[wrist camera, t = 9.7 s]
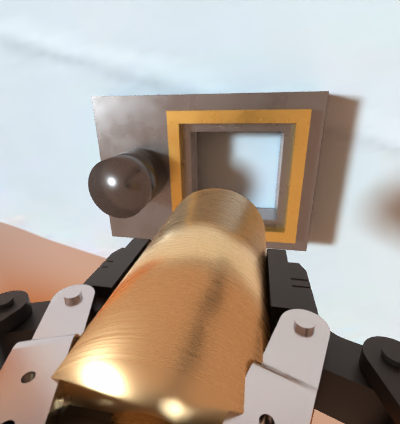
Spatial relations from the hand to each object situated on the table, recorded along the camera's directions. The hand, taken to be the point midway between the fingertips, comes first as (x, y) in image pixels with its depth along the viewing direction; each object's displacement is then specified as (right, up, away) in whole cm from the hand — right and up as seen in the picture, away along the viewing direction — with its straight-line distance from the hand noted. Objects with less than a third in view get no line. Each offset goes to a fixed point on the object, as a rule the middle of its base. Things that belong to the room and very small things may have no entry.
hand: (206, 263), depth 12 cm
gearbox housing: (+1, +7, +17) cm, 18 cm away
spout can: (+1, +1, +3) cm, 3 cm away
